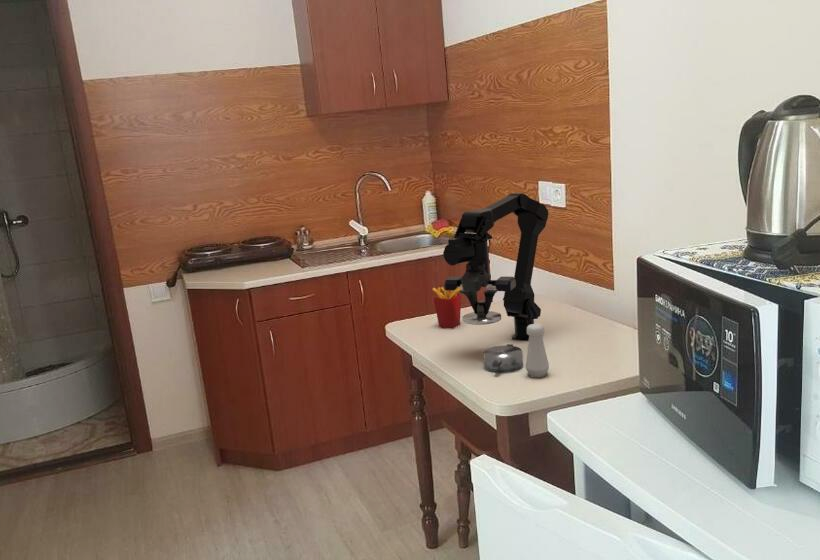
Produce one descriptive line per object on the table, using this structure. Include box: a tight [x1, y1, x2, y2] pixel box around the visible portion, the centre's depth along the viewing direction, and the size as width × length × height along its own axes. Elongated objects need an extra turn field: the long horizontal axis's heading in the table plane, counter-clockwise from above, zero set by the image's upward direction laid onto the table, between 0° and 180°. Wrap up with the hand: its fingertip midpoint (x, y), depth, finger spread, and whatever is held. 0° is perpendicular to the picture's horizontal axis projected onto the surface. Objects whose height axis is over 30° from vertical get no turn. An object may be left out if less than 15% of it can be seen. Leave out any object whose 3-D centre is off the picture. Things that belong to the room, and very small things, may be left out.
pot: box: [483, 344, 524, 374], centre depth 188 cm, size 15×10×4 cm, turn 158°
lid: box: [461, 300, 502, 326], centre depth 196 cm, size 11×11×5 cm
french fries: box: [431, 286, 462, 329], centre depth 227 cm, size 9×8×15 cm
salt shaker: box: [525, 323, 550, 378], centre depth 179 cm, size 6×6×13 cm
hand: (481, 314), depth 196 cm, fingers closed on lid, 3 cm apart
